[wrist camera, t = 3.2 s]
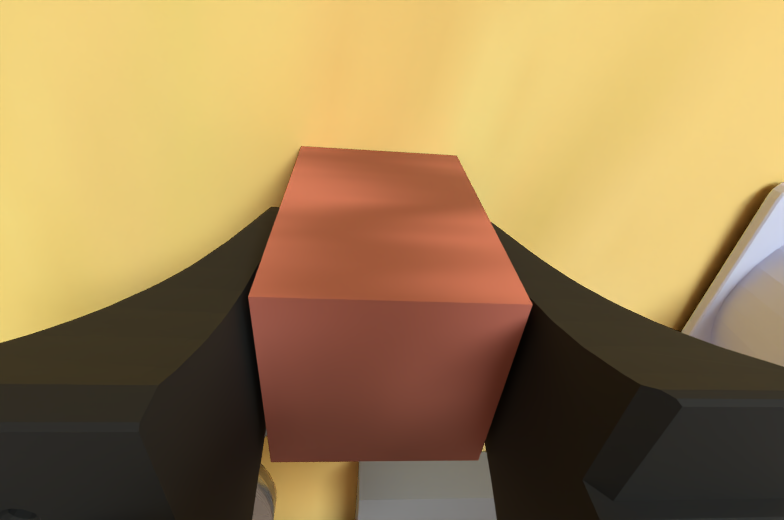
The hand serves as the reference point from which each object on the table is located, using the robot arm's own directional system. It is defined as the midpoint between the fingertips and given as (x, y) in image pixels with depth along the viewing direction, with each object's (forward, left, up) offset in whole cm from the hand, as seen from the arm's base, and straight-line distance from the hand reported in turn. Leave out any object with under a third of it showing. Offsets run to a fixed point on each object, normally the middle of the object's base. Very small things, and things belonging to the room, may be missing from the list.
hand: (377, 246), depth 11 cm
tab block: (0, 0, -1) cm, 1 cm away
